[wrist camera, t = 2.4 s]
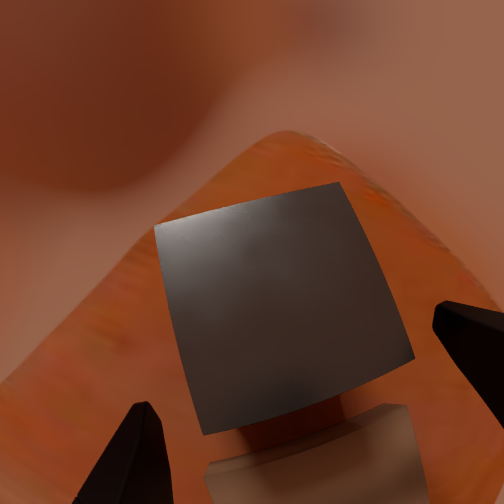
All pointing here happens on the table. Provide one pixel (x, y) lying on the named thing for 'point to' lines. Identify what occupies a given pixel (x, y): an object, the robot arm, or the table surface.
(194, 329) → the tea tin
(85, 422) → the table surface
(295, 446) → the walnut block
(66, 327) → the table surface
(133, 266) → the table surface
